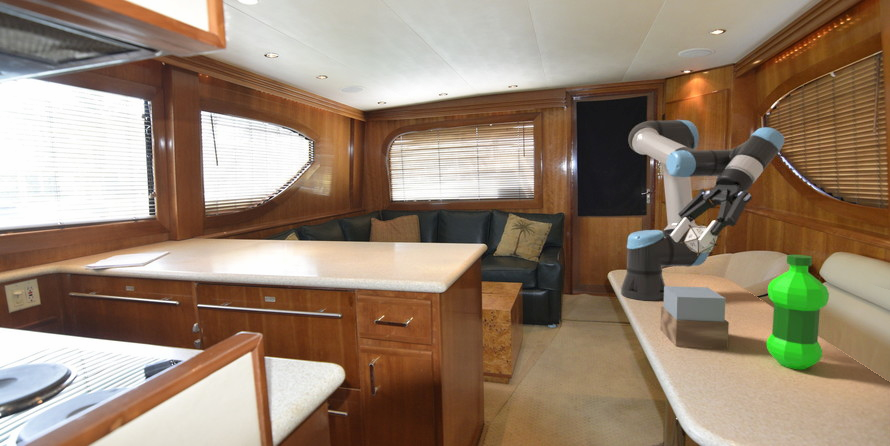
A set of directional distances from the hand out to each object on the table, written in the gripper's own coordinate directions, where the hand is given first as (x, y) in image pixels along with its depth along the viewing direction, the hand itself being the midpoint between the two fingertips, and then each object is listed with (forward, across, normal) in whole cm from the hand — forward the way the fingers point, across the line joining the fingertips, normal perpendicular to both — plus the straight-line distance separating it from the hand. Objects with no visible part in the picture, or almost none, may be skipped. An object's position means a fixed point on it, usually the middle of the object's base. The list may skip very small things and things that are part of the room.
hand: (687, 240), depth 111 cm
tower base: (+17, 0, -21) cm, 27 cm away
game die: (0, -1, -5) cm, 5 cm away
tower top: (+12, 0, -16) cm, 20 cm away
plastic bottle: (+11, -20, -27) cm, 35 cm away
